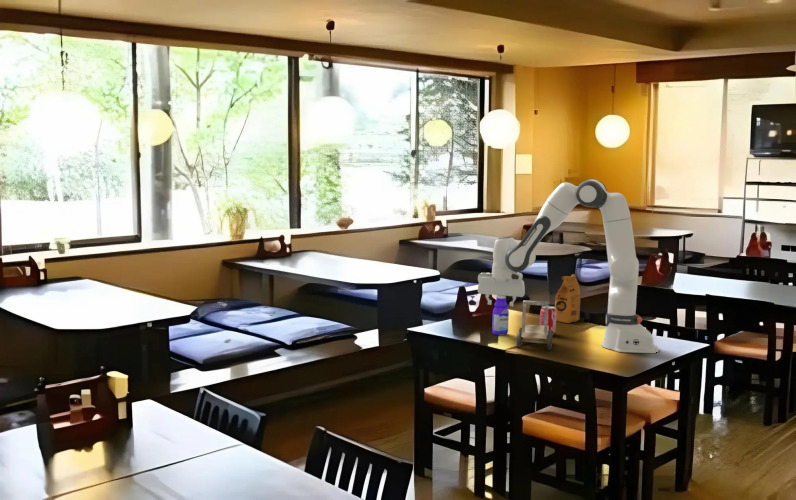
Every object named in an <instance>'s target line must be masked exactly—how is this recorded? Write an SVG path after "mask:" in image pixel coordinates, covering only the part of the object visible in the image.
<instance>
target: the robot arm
mask: <svg viewBox="0 0 796 500" xmlns="http://www.w3.org/2000/svg"><path fill="white" fill-rule="evenodd" d="M579 204H580V205H582V206H584V207H587V208H595V209H598V210H600V213H601V217H602V223H603V230H604V231H603V232H604V237H605V243H606V244H605V245H606V255H607V263H608V271H609V273H610V274H609V275H610V276H609V289H608V301H607V312H606V314H605V332H604V336H603V341H602V343H601V347H603V348H605V349H608V350H612V351H616V352H618V353H636V354H657V353H659V352H660V351H659V350H660V349H659V346H658V345H656V344H655V343H654V337H653V334H652V333H651V331H650V330H648V329H647V328H646V327H644V326H643V325H642V324H641V323H642V321H643V318H642V317H641V316H640V315H638V314H637V313H636V310H637V298H638V296H637V295H638V283H639V270H640V262H639V259H638V257H637V253H636V252H637V251H636V245H635V237H634V231H633V224H632V218H631V212H630V208H629V205H628V200H627V199H626V196H625V195H624V194H622V193H620V192H608V189H607V187H606V185H605V184H604V183H603V182H602V181H600V180H596V179H587V180H584V181H582V182H580V183H579V185H577V186H576V185H574V184H573V183H571V182H567V181H566V182H561V183H560V184H559V185H558V186H557V187H556V188H555V189H554V190H552V192H551V193H550V194H549V195H548V197H547V198H546V200H545V202H544V203H543V205H542V207H541V208H540V211H538V212H539V213H537V216H536V218H535V220H534V222H533V223H532V225H531V227H530V228H529V229H528V231H527V232H526V233H525V235H524V237H523V238H522V239H521V240H520V242H519V241H517V240H515V238H514V237H512V236H501V237H498V238H496V239H495V241H494V244H493V250H492V258H493V259H492V260H493V263H492V266H491V268H492V269H491V272H481V273H479V274H478V276H477V282H478V286H477V292H478V293H479V294H480V295H485V298H486V301H487V305H489V306H491V305H492V301H493V300H492V299H490V295H493V296H497V295H504V296H506V297H507V296H508V297H512V300H511V301H510V302H509V305H508V306H509V307H514V303H515V301H516V299H517V297H518V298H519V297H520V298H523V297H524V296H525V294H526V293H525V292H526V291H525V289H526V288H525V281H524V280H523V277H524V276H523V275H524V274H522V273H521V272H523V271H525V270H526V269H527V268H529V267H531V266H533V264H534V263H535V261H536V257H537V255H536V251H535V249H536V248H537V246H538V244H539V243H541V241H542V239H543V238H544V237H545V236H546V235H547V234H548V233H550V232H552V231H553V230H555V229H557V228H558V227H560V226H561V224H562V223H563V222H564V221H565V220H566V219H567V218H568V216H569V215H570V213H571V212H572V211H573V209H575V207H576V206H577V205H579ZM658 351H659V352H658ZM656 352H657V353H656Z"/></svg>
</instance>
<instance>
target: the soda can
mask: <svg viewBox="0 0 796 500" xmlns="http://www.w3.org/2000/svg"><path fill="white" fill-rule="evenodd" d="M544 322H545V306H541V309H540V312H539V325H542V326H544ZM547 326H549V330H553V335H554V334H556V330H557V329H556V327H557V321H556V310H555V306H552V305H548V325H547ZM549 330H548V334H549Z"/></svg>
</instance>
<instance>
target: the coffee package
mask: <svg viewBox="0 0 796 500" xmlns="http://www.w3.org/2000/svg"><path fill="white" fill-rule="evenodd" d="M561 280H562V281H563V282H562V284H561V286H560V288H559V289H558V290H557V293H556V294H555V298H554V307H555V310H556V322H559V323H564V324H565V323H566V324H571V323H576V322H578V321H579V320H580V311H581V310H580V309H581V289H580V288H581V287H580V284H579V282H578V279H577V277H576V275H575V274H574V273H573V274H571V276H570V275H569V276H568V275H567V276H565V275H564V276H561Z"/></svg>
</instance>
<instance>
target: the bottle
mask: <svg viewBox="0 0 796 500" xmlns="http://www.w3.org/2000/svg"><path fill="white" fill-rule="evenodd" d="M495 298H496V299H495V302H494V304H493V305H494V308H493V310H492V323H491V324H492V327H491V329H492V334H493V335H495V336H504V335H507V334H508V333H509V317H510V316H509V315H510V313H509V309H508V306H509V305H508V303H507V296H504V295H496V297H495Z"/></svg>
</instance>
